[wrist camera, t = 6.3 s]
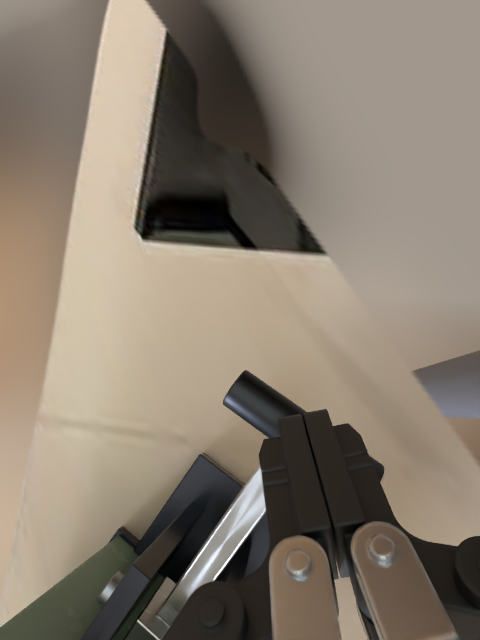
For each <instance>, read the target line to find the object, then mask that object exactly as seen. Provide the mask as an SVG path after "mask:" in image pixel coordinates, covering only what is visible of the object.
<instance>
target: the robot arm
mask: <svg viewBox="0 0 480 640" xmlns="http://www.w3.org/2000/svg"><path fill="white" fill-rule="evenodd" d="M277 419H278V424H279V429H280V434H281V436H280V437H275V438H269V439H264V441H263V444H262V447H261V450H260V453H259V460H260V468H261V475H262V483H263V490H264V498H265V505H266V513H267V520H268V528H269V535H270V546H269V551H268V554H267V556H266V558H265V560H264V562H263V563H262V565H261V566H260V567H259V568H258V569H257V570H256V571H255V572H253V573H252V574H250V575H249V576H247V577H245V578H244V579H242V580H240V581H239V582H237V583H235V584H233V585H232V586H231V585H230V584H228V583H226V582H222V581H211V582H208V583H205V584H203V585H201V586H200V587H199V588H197V589H196V590H195V591H194V592H193V593H192V595H191V596H190V597H189V599H188V600H187V602H186V603H185V605H184V606H183V608H182V609H181V611H180V612H179V614H178V616H177V617H176V619H175V620H174V622H173V623H172V625H171V626H170V628H169V629H168V631H167V632H166V634H165V636H164V637H163V639H162V640H342V639H341V633H340V627H339V621H338V615H339V609H338V602H337V595H336V589H335V582H334V579H339V578H338V571H337V564H338V568H339V572H340V576H341V578H343V577H349V576H350V579H351V583H352V586H353V590H354V594H355V597H356V605H357V611H358V614H359V617H360V620H361V623H362V626H363V628H364V631H365V634H366V637H367V640H480V536H474V537H470V538H468V539H465V540H464V541H463V542H461V543H460V545H459V546H451V545H445V544H438V543H432V542H427V541H424V540H421V539H419V538H417V537H415V536H413V535H411V534H410V533H408V532H407V531H406V530H405V529H403V528H402V526H401V525H400V524H399V523H398V522H397V520H396V519H395V517H394V515H393V512H392V510H391V507H390V505H389V503H388V500H387V498H386V495H385V493H384V491H383V488H382V486H381V483H380V481H379V478H378V476H377V474H376V471H375V469H374V467H373V465H372V462H371V459H370V457H369V454H368V453H367V449H366V447H365V445H364V442H363V440H362V437H361V435H360V434H359V433H358V432H357V431H356V430H355V429H353V428H352V427H351V426H350V425H349V424H348V423H347V424H342V425H337V426H332V423H331V420H330V417H329V414H328V411H327V409H323V410H318V411H313V412H308V413H303V420H302V416H301V414H298V415H293V416H288V417H282V418H277ZM303 421H304V423H303ZM336 560H337V564H336Z"/></svg>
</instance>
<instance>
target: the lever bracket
mask: <svg viewBox="0 0 480 640" xmlns="http://www.w3.org/2000/svg"><path fill="white" fill-rule="evenodd" d="M244 485H245V484H243V483H242V482H241V481H239V480H238V479H237V478H236V477H234V476H233V475H232V474H230V473H229V472H228V471H226V470H225V469H224V468H222V467H221V466H220V465H219V464H217V463H216V462H215V461H213V460H212V459H211V458H209V457H208V456H207V455H205V454H204V453H202V454H200V455H199V456H198V458H197V459H196V460H195V462H194V463H193V465H192V466H191V468H190V469H189V471H188V472H187V474H186V475H185V476H184V478H183V479H182V481H181V482H180V484H179V485H178V487H177V488H176V489H175V491H174V492H173V494H172V495H171V497H170V498H169V500H168V501H167V503H166V504H165V505H164V507H163V508H162V510H161V511H160V513H159V514H158V516H157V517H156V518H155V520H154V521H153V523H152V524H151V526H150V527H149V529H148V530H147V532H146V533H145V534H144V536H143V537H142V539H141V540H140V542H139V543H138V545H137V546H136V547H135V549H134V550H133V551H134V552H135V553H136V554H137V555H138V556H139V558H138V559H137V560H136V561H135V562H134V563H133V564H132V565H131V566H130V568H129V569H128V571H127V572H126V574H125V575H124V574H122V573H121V572H120V571H118V572H117V573H116V574H115V575H114V576H113V577H112V579H111V580H110V581H109V582H108V584H107V585H106V586H105V588H104V589H103V591H102V592H101V594H100V595H99V597H98V599H97V602H98V603H99V604H101V605H102V606H103V607H102V609H101V610H100V612H99V613H98V615H97V616H96V617H95V619H94V620H93V622H92V623H91V625H90V626H89V628H88V629H87V631H86V632H85V633H84V635H83V636H82V638H81V639H80V640H113V638H114V637H115V636H116V634H117V633H118V632H119V630H120V629H121V627H122V626H123V625H124V623H125V622H126V621H127V619H128V618H129V617H130V615H131V614H132V612H133V611H134V610H135V608H136V607H137V606H138V604H139V603H140V602H141V600H142V599H143V597H144V596H145V595H146V593H147V592H148V591H149V589H150V588H151V586H152V585H153V584H154V582H155V581H156V580H157V578H158V577H159V576H160V575H162V576H163V577H164V578H165V577H169V578H170V579H171V580H172V581H173V582H174V583H177V582H178V581H179V579H180V578H181V576H182V575H183V573H184V572H185V570H186V569H187V568H188V566H189V565H190V563H191V562H192V560H193V559H194V557H195V556H196V554H197V553H198V552H199V550H200V549H201V547H202V546H203V544H204V543H205V541H206V540H207V539H208V537H209V536H210V534H211V533H212V531H213V530H214V528H215V527H216V525H217V524H218V523H219V521H220V520H221V518H222V517H223V515H224V514H225V512H226V511H227V510H228V508H229V507H230V505H231V504H232V502H233V501H234V499H235V498H236V496H237V495H238V494H239V492H240V491H241V489H242V488H243V486H244ZM269 546H270V535H269V528H268V520H267V513H266V512H265V514H264V515H263V517H262V518H261V519H260V521H259V522H258V523H257V525H256V526H255V527H254V529H253V530H252V531H251V533H250V534H249V535H248V537H247V538H246V539H245V541H244V542H243V544H242V545H241V546H240V548H239V549H238V550H237V552H236V553H235V554H234V556H233V557H232V558H231V560H230V561H229V562H228V564H227V565H226V566H225V568H224V569H223V571H222V572H221V573H220V575H219V576H218V577H217V579H216V580H215V581H222V582H226V583H228V584H230V585H231V586H232V585H233V584H235V583H237V582H239V581H240V580H242V579H244V578H245V577H247V576H249V575H250V574H252V573H253V572H255V571H256V570H257V569H258V568H259V567H260V566H261V565H262V563H263V562H264V560H265V558H266V556H267V554H268V551H269Z"/></svg>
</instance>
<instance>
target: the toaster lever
mask: <svg viewBox="0 0 480 640" xmlns="http://www.w3.org/2000/svg"><path fill="white" fill-rule="evenodd" d="M223 405H225V406H226V407H227V408H229V409H230V410H231V411H233V412H234V413H236V414H237V415H238V416H240V417H241V418H242V419H244V420H245V421H247V422H248V423H249V424H251V425H252V426H253V427H255V428H256V429H258V430H259V431H260V432H262V433H263V434H264V435H266V436H267V437H269V438H275V437H280V436H281V434H280V429H279V424H278V419H277V418H282V417H288V416H293V415H298V414H301V416H302V420H303V413H307V412H306V411H304V410H303V409H302V408H300V407H299V406H297V405H296V404H294V403H293V402H292V401H290V400H289V399H287V398H286V397H284V396H283V395H282V394H280V393H279V392H277V391H276V390H274V389H273V388H272V387H270V386H269V385H267V384H266V383H264V382H263V381H262V380H260V379H259V378H257V377H256V376H254V375H253V374H251V373H250V372H249V371H247V370H245V371H244V372H243V373H242V374H241V375H240V376H239V377H238V378H237V380H236V381H235V382H234V384H233V385H232V386H231V388H230V389H229V391H228V393H227V394H226V396H225V398H224V400H223ZM303 423H304V421H303ZM369 457H370V456H369ZM370 459H371V462H372V465H373V467H374V469H375V471H376V474H377V476H378V478H379V481H380V482H381V480H382V477H383V474H384V466H383V465H382V464H380V463H379V462H377V461H376V460H375V459H373V458H372V457H370ZM265 512H266V505H265V498H264V490H263V483H262V475H261V468H260V463H259V465H258V466H257V467H256V469H255V470H254V472H253V473H252V475H251V476H250V478H249V479H248V481H247V482H246V483H245V485H244V486H243V488H242V489H241V491H240V492H239V494H238V495H237V496H236V498H235V499H234V501H233V502H232V504H231V505H230V507H229V508H228V510H227V511H226V512H225V514H224V515H223V517H222V518H221V520H220V521H219V523H218V524H217V525H216V527H215V528H214V530H213V531H212V533H211V534H210V536H209V537H208V539H207V540H206V541H205V543H204V544H203V546H202V547H201V549H200V550H199V552H198V553H197V554H196V556H195V557H194V559H193V560H192V562H191V563H190V565H189V566H188V568H187V569H186V570H185V572H184V573H183V575H182V576H181V578H180V579H179V581H178V582H177V583H174V582H173V581H172V580H171V579H170V578H169V577H165V578H164V580H163V581H162V583H161V584H160V586H159V587H158V588H157V590H156V591H155V593H154V594H153V596H152V597H151V599H150V600H149V602H148V603H147V605H146V606H145V608H144V609H143V610H142V612H141V613H140V615H139V616H138V618H137V619H136V621H135V622H134V624H133V625H132V627H131V628H130V630H129V631H128V633H127V634H126V636H125V637H124V639H123V640H162V639H163V637H164V636H165V634H166V632H167V631H168V629H169V628H170V626H171V625H172V623H173V622H174V620H175V619H176V617H177V616H178V614H179V612H180V611H181V609H182V608H183V606H184V605H185V603H186V602H187V600H188V599H189V597H190V596H191V595H192V593H193V592H194V591H195V590H196V589H197V588H199V587H200V586H201V585H203V584H205V583H208V582H211V581H215V580H216V579H217V577H218V576H219V575H220V573H221V572H222V571H223V569H224V568H225V566H226V565H227V564H228V562H229V561H230V560H231V558H232V557H233V556H234V554H235V553H236V552H237V550H238V549H239V548H240V546H241V545H242V544H243V542H244V541H245V539H246V538H247V537H248V535H249V534H250V533H251V531H252V530H253V529H254V527H255V526H256V525H257V523H258V522H259V521H260V519H261V518H262V517H263V515H264V514H265Z"/></svg>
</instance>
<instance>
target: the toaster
mask: <svg viewBox="0 0 480 640" xmlns="http://www.w3.org/2000/svg"><path fill="white" fill-rule="evenodd" d="M139 542H140V541H139V540H138V539H137V538H135V537H134V536H133V535H132V534H131V533H129V532H128V531H127V530H126V529H125V528H124V527H121V528H119V529H118V530H117V532H116V533H115V535H114V536H113V538H112V539H111V540H110V542H109V543H108V544H107V545H106V546H105V547H104V548H102V549H101V550H100V551H98V552H97V553H96V554H95V555H93V556H92V557H91V558H89V559H88V560H87V561H86V562H84V563H83V564H82V565H80V566H79V567H78V568H76V569H75V570H74V571H73V572H71V573H70V574H69V575H67V576H66V577H65V578H64V579H62V580H61V581H60V582H58V583H57V584H56V585H54V586H53V587H52V588H51V589H49V590H48V591H47V592H45V593H44V594H43V595H42V596H40V597H39V598H38V599H36V600H35V601H34V602H32V603H31V604H30V605H29V606H27V607H26V608H25V609H23V610H22V611H21V612H20V613H18V614H17V615H16V616H14V617H13V618H12V619H11V620H9V621H8V622H7V623H5V624H4V625H3V626H1V627H0V640H80V639H81V638H82V636H83V635H84V633H85V632H86V631H87V629H88V628H89V626H90V625H91V623H92V622H93V620H94V619H95V617H96V616H97V615H98V613H99V612H100V610H101V609H102V607H103V606H102V605H101V604H99V603H98V602H97V599H98V597H99V595H100V594H101V592H102V591H103V589H104V588H105V586H106V585H107V584H108V582H109V581H110V580H111V579H112V577H113V576H114V575H115V574H116V573H117V572H118V571H120V572H121V573H122V574H124V575H125V574H126V572H127V571H128V569H129V568H130V566H131V565H132V564H133V563H134V562H135V561H136V560H137V559H138V558H139V556H138V555H137V554H136V553H135V552H134V551H133V550H134V549H135V547H136V546H137V545H138V543H139ZM163 580H164V577H163V576H162V575H160V576H159V577H158V578H157V580H156V581H155V582H154V584H153V585H152V586H151V588H150V589H149V591H148V592H147V593H146V595H145V596H144V597H143V599H142V600H141V602H140V603H139V604H138V606H137V607H136V608H135V610H134V611H133V612H132V614H131V615H130V617H129V618H128V619H127V621H126V622H125V623H124V625H123V626H122V627H121V629H120V630H119V632H118V633H117V634H116V636H115V637H114V638H113V640H123V639H124V637H125V636H126V634H127V633H128V631H129V630H130V628H131V627H132V625H133V624H134V622H135V621H136V619H137V618H138V616H139V615H140V613H141V612H142V610H143V609H144V608H145V606H146V605H147V603H148V602H149V600H150V599H151V597H152V596H153V594H154V593H155V591H156V590H157V588H158V587H159V586H160V584H161V583H162V581H163Z"/></svg>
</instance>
